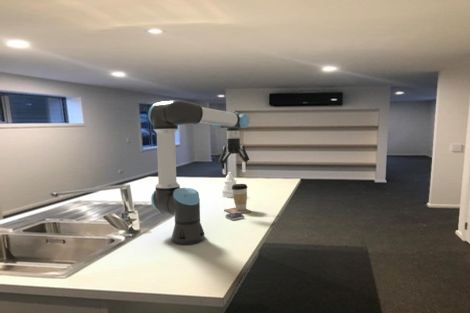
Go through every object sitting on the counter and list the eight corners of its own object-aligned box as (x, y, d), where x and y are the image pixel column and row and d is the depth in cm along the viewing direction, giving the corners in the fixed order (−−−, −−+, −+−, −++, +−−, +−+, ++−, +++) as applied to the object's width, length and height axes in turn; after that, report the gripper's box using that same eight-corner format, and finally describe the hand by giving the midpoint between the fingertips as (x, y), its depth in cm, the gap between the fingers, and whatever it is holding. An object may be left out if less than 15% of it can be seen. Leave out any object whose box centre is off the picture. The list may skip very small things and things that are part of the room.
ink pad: (232, 220, 176) (231, 217, 176) (225, 217, 183) (225, 214, 183) (244, 218, 180) (244, 215, 180) (237, 215, 187) (237, 212, 187)
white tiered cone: (238, 197, 234) (237, 173, 232) (221, 197, 234) (220, 173, 232) (238, 193, 247) (238, 170, 245) (222, 194, 247) (221, 171, 245)
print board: (233, 215, 187) (233, 213, 187) (224, 210, 197) (224, 209, 197) (250, 212, 193) (250, 210, 193) (240, 207, 203) (240, 206, 203)
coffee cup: (251, 207, 200) (249, 183, 198) (246, 211, 190) (244, 186, 189) (236, 207, 203) (234, 183, 202) (230, 211, 194) (228, 186, 193)
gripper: (217, 138, 182) (218, 175, 184) (254, 137, 194) (255, 172, 196) (211, 138, 189) (213, 174, 190) (248, 137, 200) (248, 170, 202)
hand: (234, 173), depth 193 cm, fingers open, 13 cm apart
